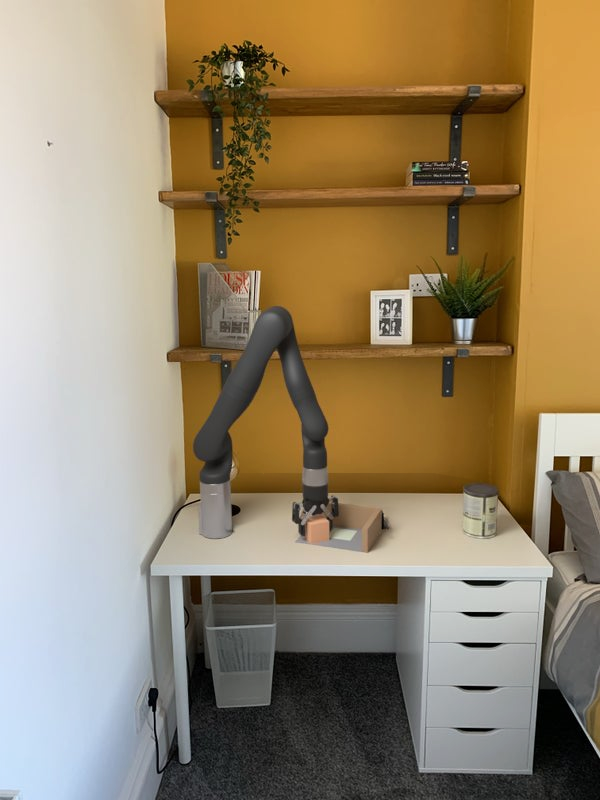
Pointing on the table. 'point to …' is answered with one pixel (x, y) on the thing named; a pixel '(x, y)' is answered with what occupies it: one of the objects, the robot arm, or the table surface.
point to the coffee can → (480, 510)
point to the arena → (352, 528)
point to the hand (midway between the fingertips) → (315, 533)
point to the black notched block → (384, 522)
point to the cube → (316, 529)
